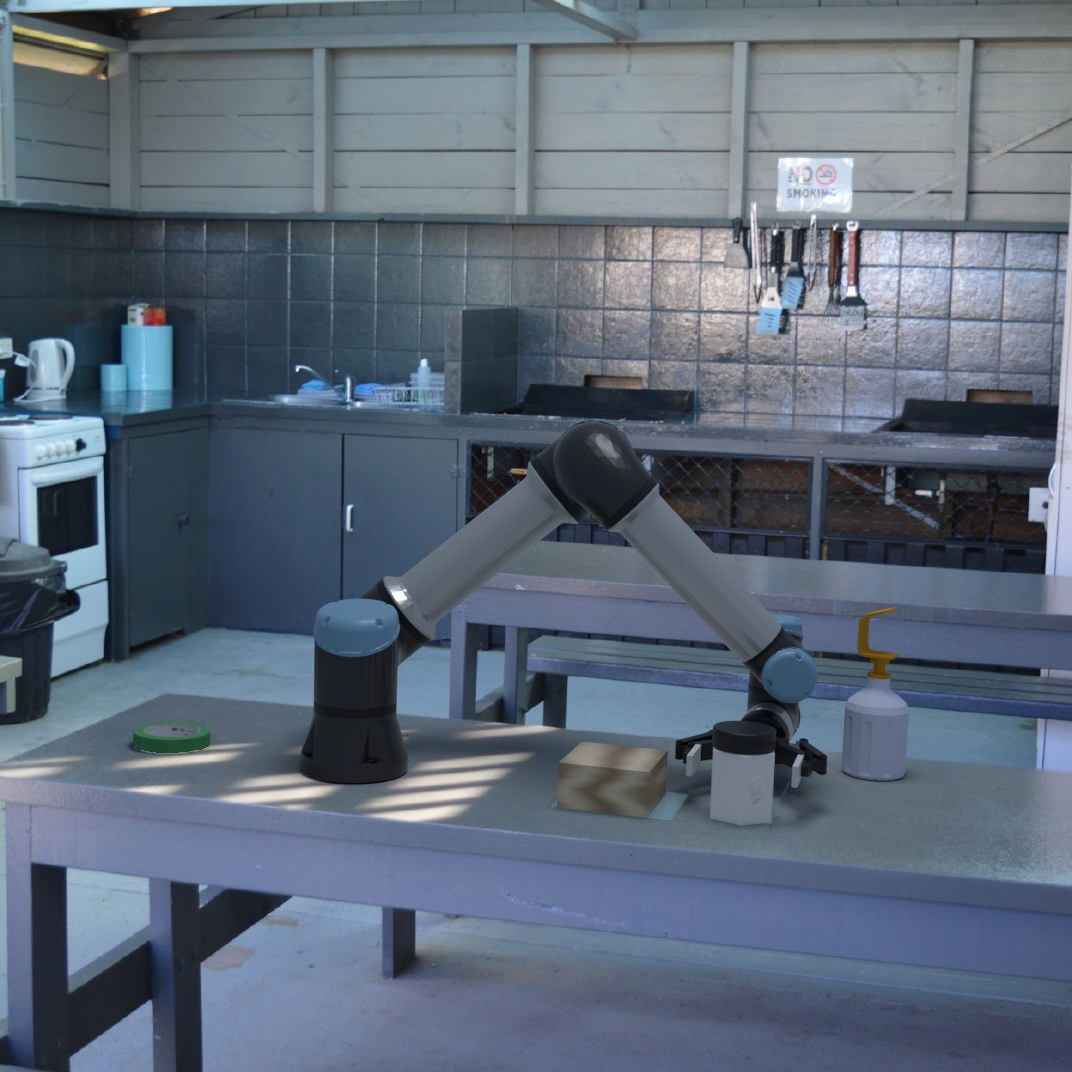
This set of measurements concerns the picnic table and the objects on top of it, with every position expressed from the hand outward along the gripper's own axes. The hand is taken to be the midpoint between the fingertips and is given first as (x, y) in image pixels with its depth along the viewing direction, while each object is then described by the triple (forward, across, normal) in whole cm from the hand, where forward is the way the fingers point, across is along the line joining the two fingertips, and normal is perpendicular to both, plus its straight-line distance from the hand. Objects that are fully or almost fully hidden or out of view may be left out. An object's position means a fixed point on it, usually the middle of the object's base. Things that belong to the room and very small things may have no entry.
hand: (741, 771), depth 190 cm
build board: (-2, +16, -6) cm, 17 cm away
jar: (-1, 0, -7) cm, 7 cm away
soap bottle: (-31, -15, -7) cm, 35 cm away
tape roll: (-5, +85, -7) cm, 85 cm away
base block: (-1, +17, -6) cm, 18 cm away
